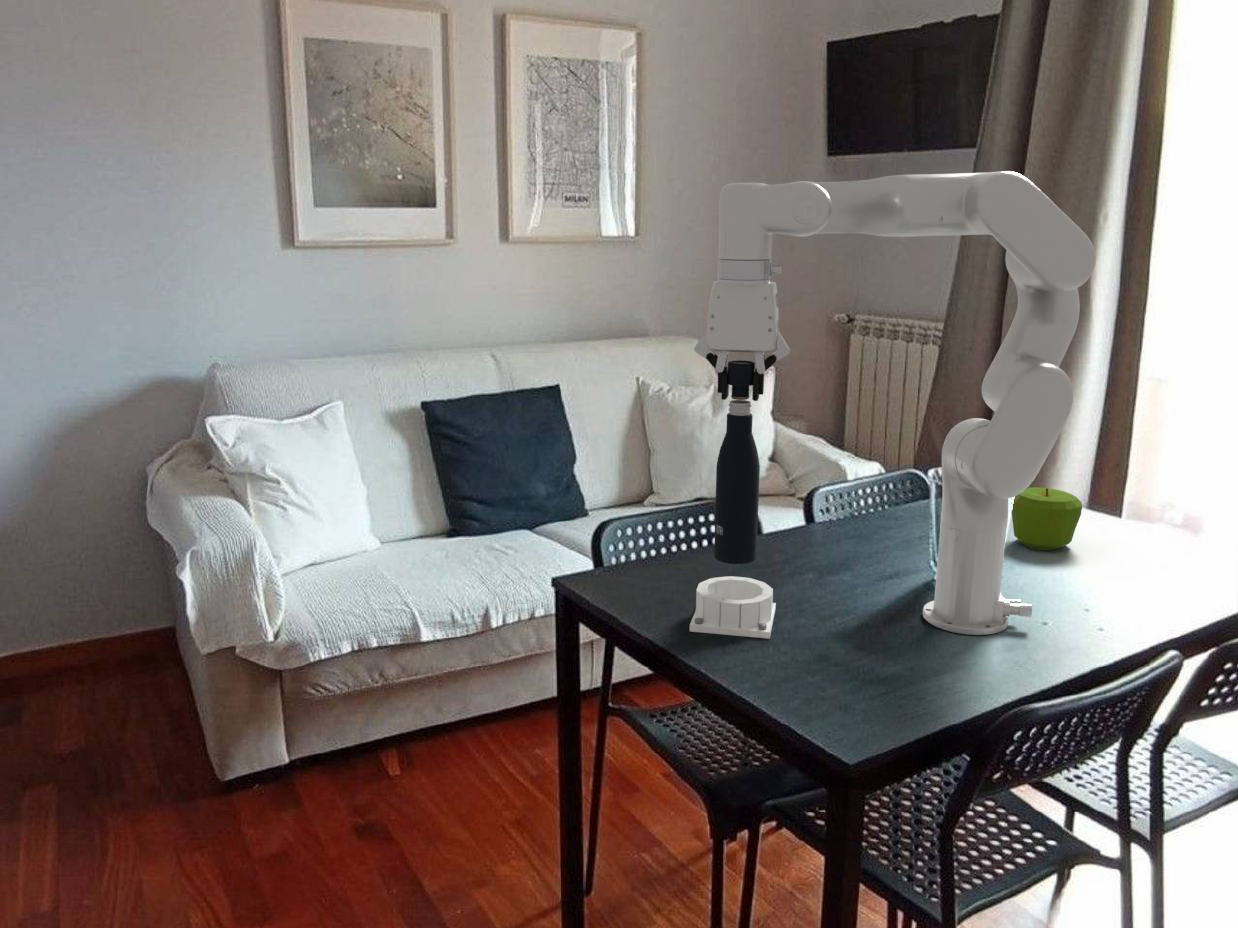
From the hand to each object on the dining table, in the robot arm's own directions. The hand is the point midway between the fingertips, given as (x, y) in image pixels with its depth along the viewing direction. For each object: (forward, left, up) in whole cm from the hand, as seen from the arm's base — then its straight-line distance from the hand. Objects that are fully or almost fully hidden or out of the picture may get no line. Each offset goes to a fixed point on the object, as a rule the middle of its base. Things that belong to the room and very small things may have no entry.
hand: (740, 397), depth 151 cm
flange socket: (0, 0, -35) cm, 35 cm away
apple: (-53, -50, -35) cm, 81 cm away
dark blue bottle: (0, 0, -25) cm, 25 cm away
